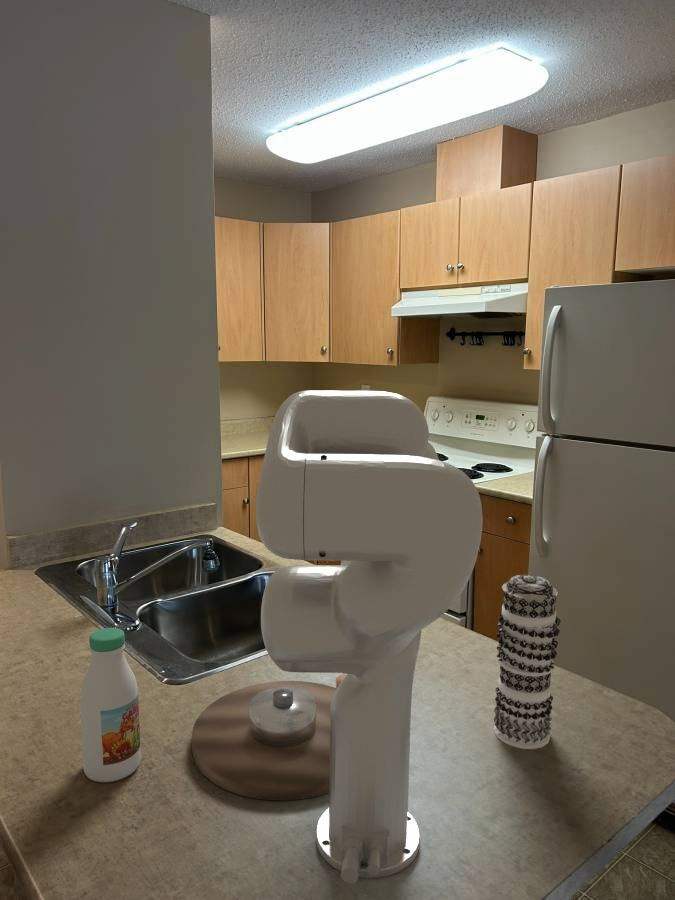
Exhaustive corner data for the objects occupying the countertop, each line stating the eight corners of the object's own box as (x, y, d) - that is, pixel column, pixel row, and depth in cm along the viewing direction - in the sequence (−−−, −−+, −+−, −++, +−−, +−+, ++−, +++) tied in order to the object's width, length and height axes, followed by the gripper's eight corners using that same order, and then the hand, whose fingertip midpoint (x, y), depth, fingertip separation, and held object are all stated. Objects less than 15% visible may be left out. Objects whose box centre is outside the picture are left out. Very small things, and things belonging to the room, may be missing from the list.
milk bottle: (80, 788, 90) (73, 648, 87) (86, 755, 97) (79, 624, 94) (140, 779, 92) (135, 642, 89) (141, 747, 99) (136, 619, 96)
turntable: (371, 809, 86) (372, 766, 85) (163, 790, 89) (161, 749, 88) (382, 697, 114) (383, 664, 113) (222, 686, 117) (222, 654, 116)
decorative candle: (555, 755, 98) (566, 593, 95) (491, 745, 101) (499, 587, 97) (550, 721, 107) (560, 572, 103) (491, 714, 109) (499, 567, 106)
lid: (310, 750, 95) (310, 714, 94) (241, 744, 96) (241, 709, 96) (320, 713, 105) (321, 680, 104) (259, 708, 106) (258, 675, 105)
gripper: (411, 541, 92) (407, 665, 95) (369, 514, 105) (366, 623, 108) (360, 546, 89) (358, 674, 92) (324, 518, 103) (323, 629, 106)
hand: (362, 646), depth 100 cm, fingers closed
